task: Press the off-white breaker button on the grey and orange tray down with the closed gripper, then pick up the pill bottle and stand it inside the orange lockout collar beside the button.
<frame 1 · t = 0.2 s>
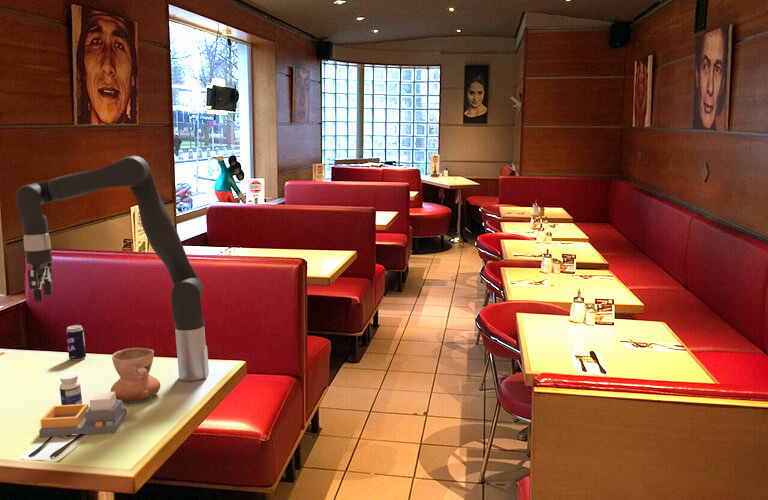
hand: (43, 298, 224), 29 cm above the table, tool pointing down, fingers open, 8 cm apart
ceramic jug: (135, 397, 218), on the table
beverage can: (77, 359, 255), on the table
breaker button: (103, 402, 197), point 6 cm above the table, slide at 0.0 cm
pill bottle: (72, 408, 211), on the table
grey and orange tray: (85, 425, 198), on the table
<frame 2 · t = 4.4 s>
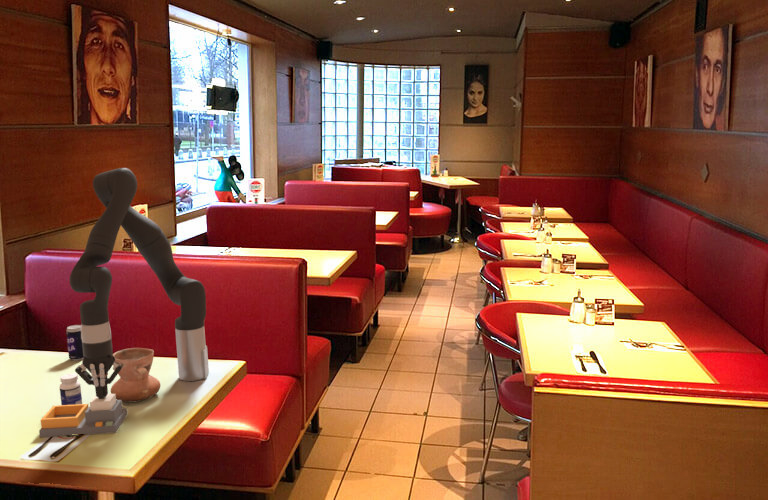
hand: (102, 397, 197), 8 cm above the table, tool pointing down, fingers closed
breaker button: (103, 404, 197), point 6 cm above the table, slide at 0.6 cm, touching gripper
everything else where it was.
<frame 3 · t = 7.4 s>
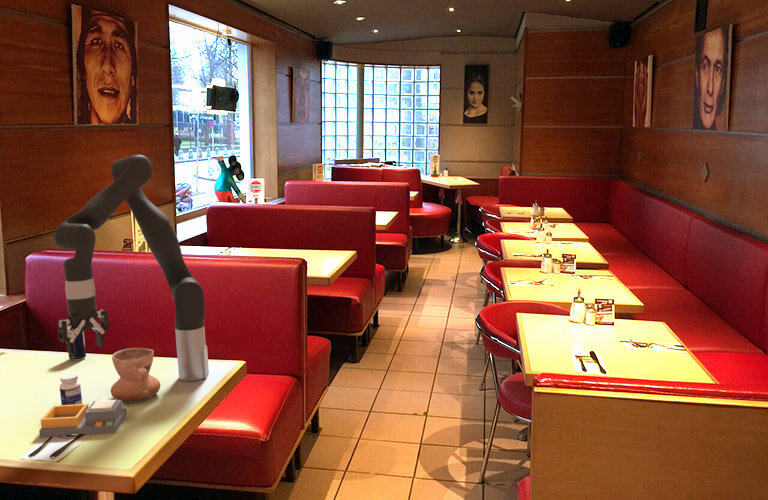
hand: (86, 350, 199), 20 cm above the table, tool pointing down, fingers open, 8 cm apart
breaker button: (104, 410, 198), point 4 cm above the table, slide at 2.4 cm
everything else where it was.
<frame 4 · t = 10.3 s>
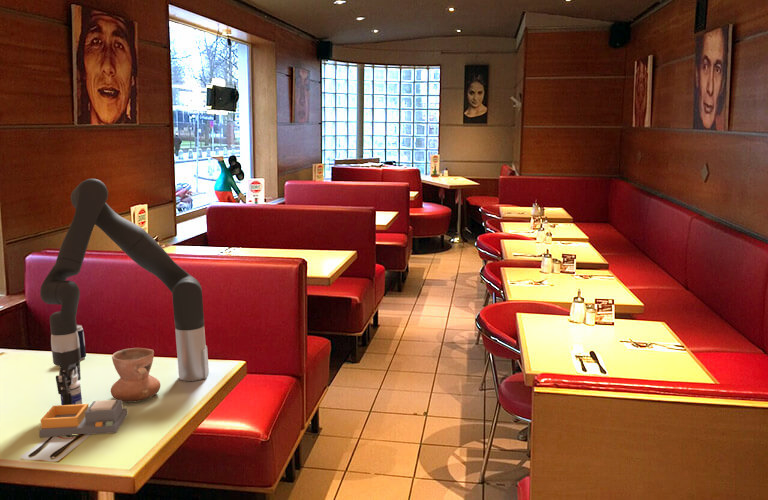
hand: (71, 400, 210), 2 cm above the table, tool pointing down, fingers closed on pill bottle, 5 cm apart
pill bottle: (72, 408, 211), on the table, touching gripper
everything else where it was.
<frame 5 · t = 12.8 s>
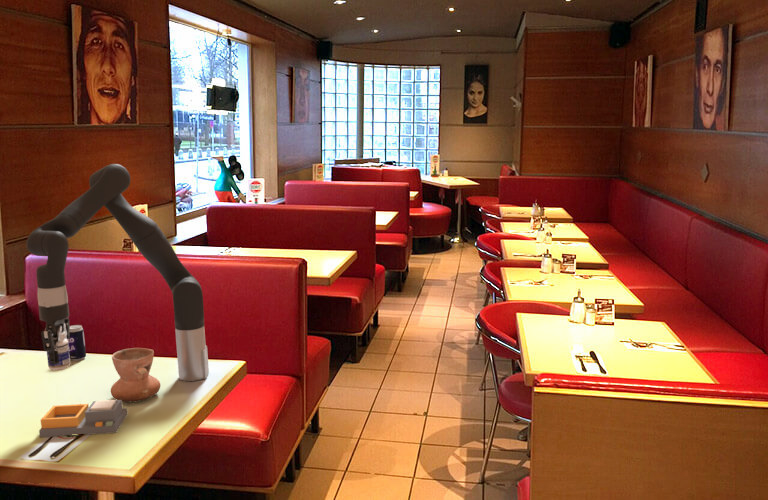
hand: (58, 359, 199), 18 cm above the table, tool pointing down, fingers closed on pill bottle, 5 cm apart
pill bottle: (59, 367, 200), point 16 cm above the table, touching gripper
everything else where it was.
when the fingers open (6 cm above the table, at t = 15.9 s): pill bottle drops 2 cm, resting on grey and orange tray.
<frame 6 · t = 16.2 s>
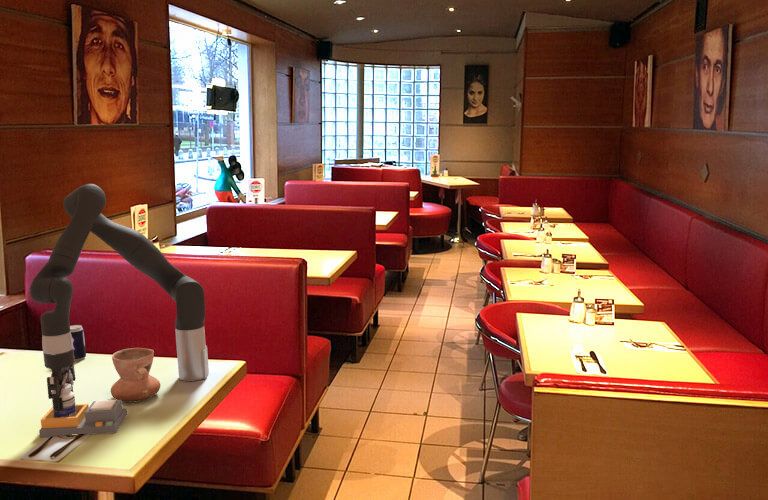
hand: (64, 404, 196), 7 cm above the table, tool pointing down, fingers open, 8 cm apart
pill bottle: (66, 420, 197), point 2 cm above the table, touching grey and orange tray
everything else where it was.
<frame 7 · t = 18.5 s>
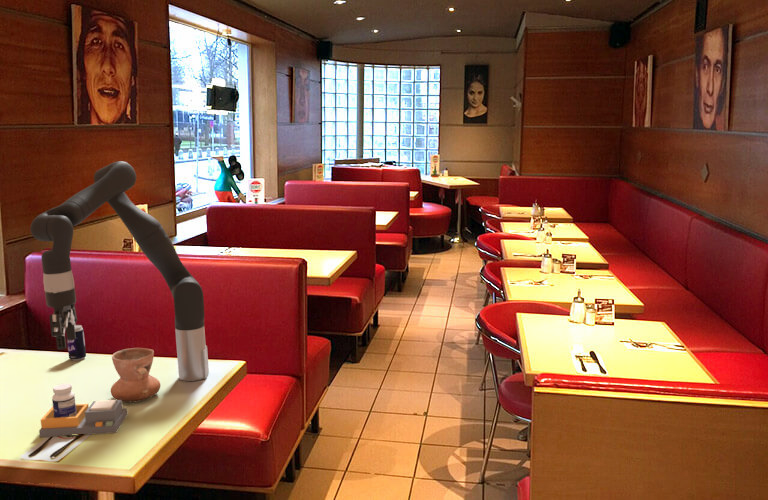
hand: (66, 344, 196), 23 cm above the table, tool pointing down, fingers open, 8 cm apart
nothing on the table moved.
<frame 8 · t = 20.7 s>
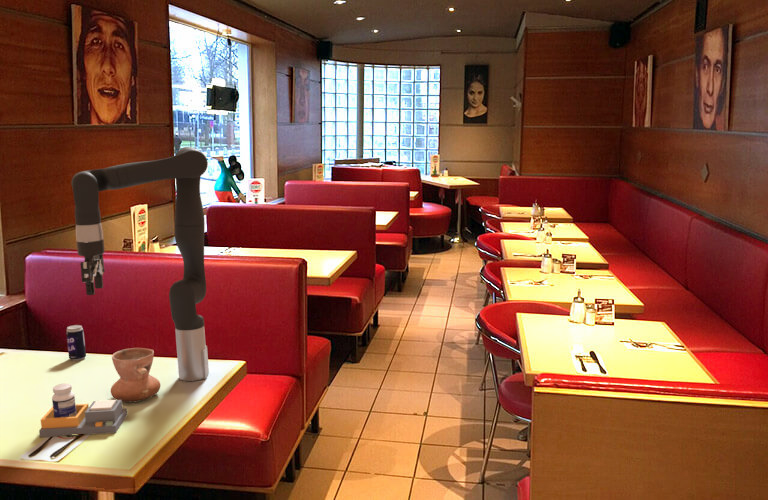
hand: (95, 291, 214), 33 cm above the table, tool pointing down, fingers open, 8 cm apart
nothing on the table moved.
at the end: breaker button slide at 2.4 cm; pill bottle 0.1 cm from the target spot on the grey and orange tray, point 1.8 cm above the grey and orange tray's base; pill bottle tilted 0° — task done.
